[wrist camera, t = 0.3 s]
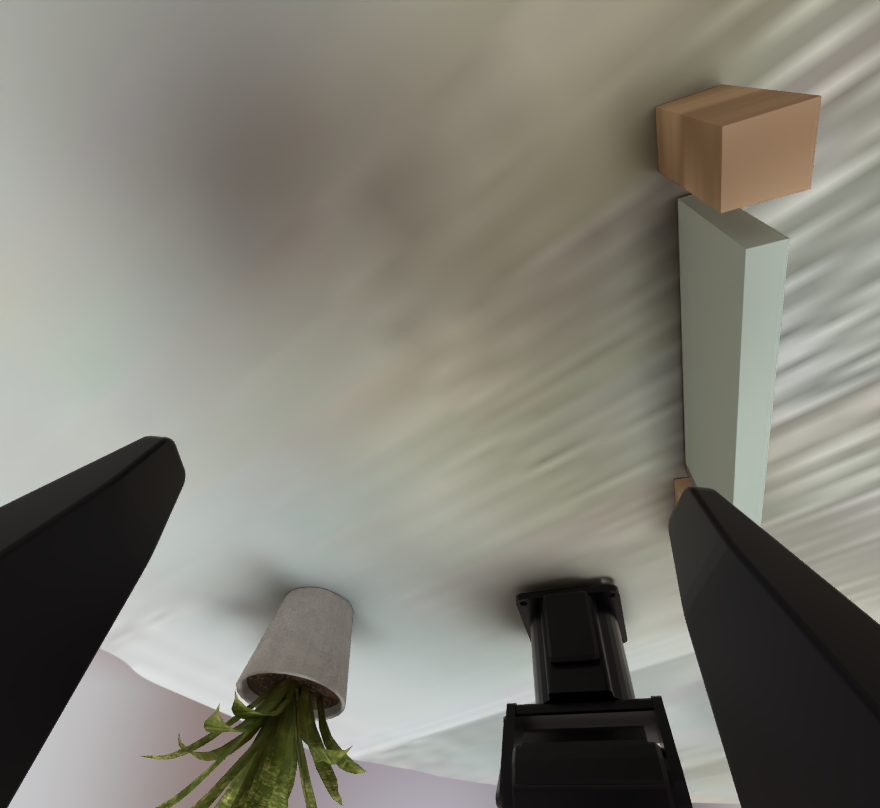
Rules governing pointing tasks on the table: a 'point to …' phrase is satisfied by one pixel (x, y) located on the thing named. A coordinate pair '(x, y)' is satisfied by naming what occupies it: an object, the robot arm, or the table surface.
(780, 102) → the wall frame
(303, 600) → the house plant
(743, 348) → the door
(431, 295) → the table surface
